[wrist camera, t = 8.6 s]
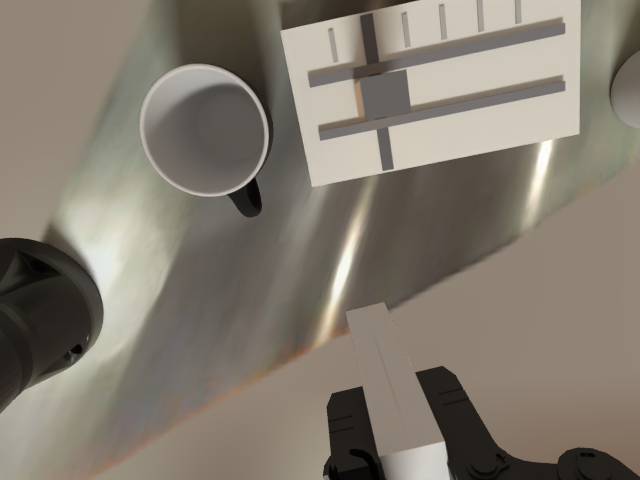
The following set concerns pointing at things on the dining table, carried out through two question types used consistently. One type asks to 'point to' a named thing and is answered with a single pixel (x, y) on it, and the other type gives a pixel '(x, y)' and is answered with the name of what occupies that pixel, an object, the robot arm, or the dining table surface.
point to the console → (435, 82)
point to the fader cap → (382, 95)
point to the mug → (208, 133)
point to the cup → (627, 92)
